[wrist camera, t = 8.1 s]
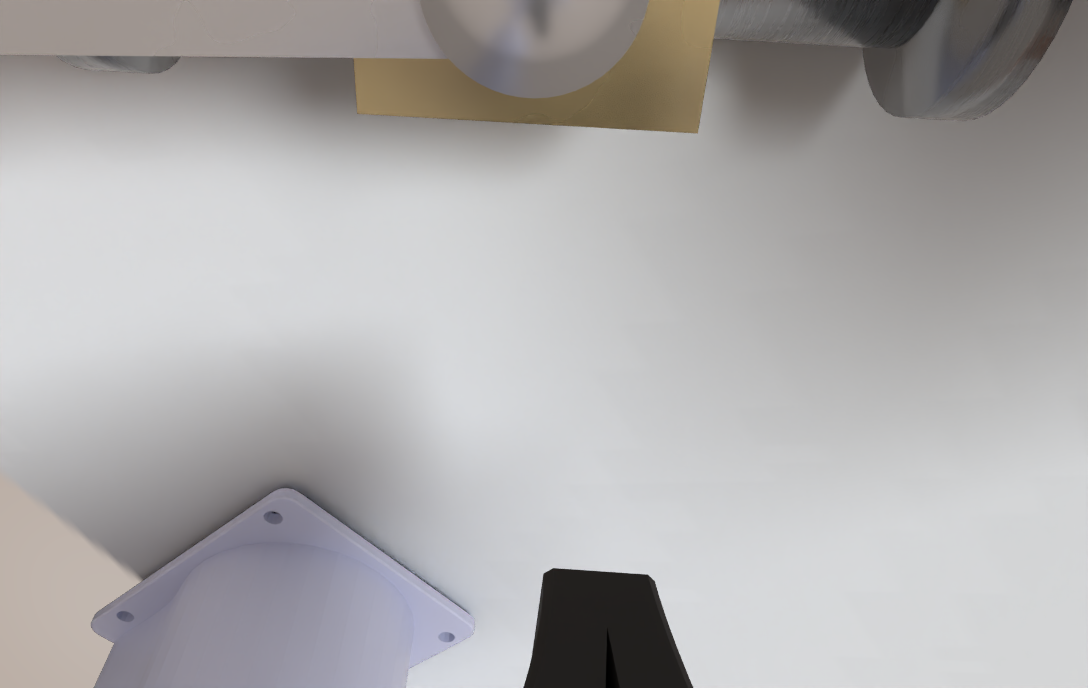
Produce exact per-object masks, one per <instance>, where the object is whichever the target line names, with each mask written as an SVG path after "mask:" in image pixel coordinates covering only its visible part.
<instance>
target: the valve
mask: <svg viewBox="0 0 1088 688" xmlns="http://www.w3.org/2000/svg"><path fill="white" fill-rule="evenodd" d="M1072 1H1073V0H649V2H648V6H647V10H646V13H645V17H644V20H643V22H642V25H641V27H640V30H639V32H638V34H637V36H636V37H635V39H634V41H633V43H632V45H631V46H630V47H629V49H628V50H627V51H626V53H625V54H624V56H623V57H622V58H621V59H620V60H619V61H618V62H617V63H616V64H615V65H614V66H613V67H612V68H611V69H610V70H609V71H608V72H606V73H605V74H604V75H603V76H602V77H600V78H599V79H597V80H595V81H594V82H592V83H591V84H589V85H587V86H585V87H583V88H581V89H578V90H576V91H573V92H570V93H567V94H564V95H560V96H554V97H549V98H522V97H516V96H511V95H506V94H503V93H500V92H497V91H494V90H491V89H489V88H487V87H485V86H483V85H481V84H479V83H477V82H476V81H474V80H473V79H471V78H470V77H468V76H467V75H465V74H464V73H463V72H462V71H461V70H460V69H458V68H457V67H456V66H455V65H454V64H453V63H452V62H451V61H450V60H449V59H407V58H353V59H354V73H355V87H356V101H357V114H371V115H389V116H406V117H423V118H441V119H458V120H475V121H493V122H510V123H528V124H545V125H562V126H580V127H597V128H614V129H632V130H649V131H666V132H684V133H698V128H699V122H700V116H701V110H702V104H703V98H704V92H705V86H706V80H707V74H708V68H709V62H710V56H711V50H712V44H713V38H716V39H732V40H749V41H766V42H782V43H799V44H815V45H832V46H849V47H862V51H863V59H864V65H865V70H866V74H867V78H868V82H869V85H870V87H871V90H872V92H873V95H874V97H875V98H876V100H877V101H878V103H879V105H880V106H881V107H882V108H883V109H884V110H885V111H886V112H888V113H890V114H891V115H893V116H898V117H905V118H923V119H940V120H957V121H967V120H974V119H977V118H980V117H982V116H985V115H987V114H989V113H990V112H992V111H993V110H995V109H996V108H998V107H999V106H1001V105H1002V104H1003V103H1004V102H1005V101H1006V100H1007V99H1008V98H1010V97H1011V96H1012V95H1013V94H1014V93H1015V92H1016V91H1017V89H1018V88H1019V87H1020V86H1021V85H1022V84H1023V83H1024V82H1025V80H1026V79H1027V78H1028V77H1029V75H1030V74H1031V73H1032V71H1033V70H1034V68H1035V67H1036V66H1037V64H1038V63H1039V62H1040V60H1041V59H1042V57H1043V55H1044V54H1045V52H1046V50H1047V49H1048V47H1049V46H1050V44H1051V42H1052V41H1053V39H1054V37H1055V35H1056V33H1057V32H1058V30H1059V28H1060V26H1061V24H1062V22H1063V20H1064V18H1065V16H1066V14H1067V12H1068V10H1069V8H1070V5H1071V3H1072ZM56 56H57V57H58V58H60V59H61V60H62V61H64V62H66V63H68V64H70V65H72V66H74V67H77V68H81V69H85V70H100V71H117V72H134V73H161V72H163V71H166V70H168V69H169V68H170V67H172V66H173V65H174V64H176V62H177V61H178V60H179V59H180V57H181V56H78V55H56Z"/></svg>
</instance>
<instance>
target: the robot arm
mask: <svg viewBox="0 0 1088 688" xmlns="http://www.w3.org/2000/svg"><path fill="white" fill-rule="evenodd" d="M271 511H273V512H277V513H279V514H275V513H273V512H271ZM91 628H92V629H93V630H94V632H96V633H97V634H98V635H100V636H102V637H104V638H105V639H107V640H109V641H111V642H113V643H114V645H113V647H112V649H111V651H110V654H109V656H108V658H107V660H106V662H105V665H104V667H103V669H102V671H101V673H100V675H99V678H98V680H97V682H96V684H95V686H94V688H406V682H407V676H408V669H409V668H411V667H413V666H415V665H417V664H419V663H421V662H423V661H425V660H427V659H429V658H430V657H432V656H434V655H436V654H438V653H440V652H442V651H444V650H446V649H448V648H450V647H452V646H454V645H455V644H457V643H459V642H461V641H463V640H465V639H467V638H469V637H470V636H472V635H473V633H474V629H475V621H474V618H473V617H472V616H471V615H470V614H468V613H467V612H465V611H464V610H463V609H461V608H460V607H458V606H457V605H456V604H454V603H453V602H451V601H450V600H449V599H447V598H446V597H445V596H443V595H442V594H440V593H439V592H438V591H436V590H435V589H433V588H432V587H431V586H429V585H428V584H426V583H425V582H424V581H422V580H421V579H419V578H418V577H417V576H415V575H414V574H412V573H411V572H410V571H408V570H407V569H405V568H404V567H403V566H401V565H400V564H398V563H397V562H396V561H394V560H393V559H392V558H390V557H389V556H387V555H386V554H385V553H383V552H382V551H380V550H379V549H378V548H376V547H375V546H373V545H372V544H371V543H369V542H368V541H366V540H365V539H364V538H362V537H361V536H359V535H358V534H357V533H355V532H354V531H352V530H351V529H350V528H348V527H347V526H346V525H344V524H343V523H341V522H340V521H339V520H337V519H336V518H334V517H333V516H332V515H330V514H329V513H327V512H326V511H325V510H323V509H322V508H320V507H319V506H318V505H316V504H315V503H313V502H312V501H311V500H309V499H308V498H306V497H305V496H304V495H302V494H301V493H299V492H298V491H296V490H294V489H289V488H281V489H278V490H275V491H273V492H272V493H270V494H269V495H267V496H266V497H265V498H263V499H262V500H260V501H259V502H257V503H256V504H254V505H253V506H251V507H250V508H248V509H247V510H246V511H244V512H243V513H241V514H240V515H238V516H237V517H235V518H234V519H232V520H231V521H229V522H228V523H227V524H225V525H224V526H222V527H221V528H219V529H218V530H216V531H215V532H213V533H212V534H210V535H209V536H208V537H206V538H205V539H203V540H202V541H200V542H199V543H197V544H196V545H194V546H193V547H191V548H190V549H189V550H187V551H186V552H184V553H183V554H181V555H180V556H178V557H177V558H175V559H174V560H172V561H171V562H170V563H168V564H167V565H165V566H164V567H162V568H161V569H159V570H158V571H156V572H155V573H153V574H152V575H151V576H149V577H148V578H146V579H145V580H143V581H142V582H140V583H139V584H137V585H136V586H134V587H133V588H132V589H130V590H129V591H127V592H126V593H125V594H123V595H122V596H120V597H118V598H117V599H116V600H114V601H113V602H111V603H110V604H108V605H107V606H105V607H104V608H102V609H101V610H100V611H98V612H97V613H96V614H95V616H94V618H93V620H92V622H91ZM524 688H693V686H692V684H691V681H690V679H689V677H688V674H687V672H686V669H685V667H684V664H683V662H682V659H681V657H680V654H679V652H678V649H677V646H676V644H675V641H674V638H673V636H672V633H671V630H670V628H669V625H668V622H667V619H666V616H665V613H664V610H663V607H662V604H661V601H660V598H659V595H658V591H657V588H656V584H655V581H654V580H653V579H652V578H651V577H650V576H649V575H644V574H629V573H615V572H600V571H585V570H571V569H556V568H553V569H551V570H549V571H547V572H546V573H544V574H543V582H542V589H541V596H540V603H539V610H538V617H537V625H536V632H535V639H534V646H533V653H532V659H531V663H530V667H529V671H528V674H527V678H526V681H525V685H524Z"/></svg>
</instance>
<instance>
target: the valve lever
mask: <svg viewBox="0 0 1088 688" xmlns="http://www.w3.org/2000/svg"><path fill="white" fill-rule="evenodd" d="M648 2H649V0H0V55H78V56H188V57H298V58H407V59H449V60H450V61H451V62H452V63H453V64H454V65H455V66H456V67H457V68H458V69H460V70H461V71H462V72H463V73H464V74H465V75H467V76H468V77H470V78H471V79H473V80H474V81H476V82H477V83H479V84H481V85H483V86H485V87H487V88H489V89H491V90H494V91H497V92H500V93H503V94H506V95H511V96H516V97H522V98H549V97H554V96H560V95H564V94H567V93H570V92H573V91H576V90H578V89H581V88H583V87H585V86H587V85H589V84H591V83H592V82H594V81H595V80H597V79H599V78H600V77H602V76H603V75H604V74H605V73H606V72H608V71H609V70H610V69H611V68H612V67H613V66H614V65H615V64H616V63H617V62H618V61H619V60H620V59H621V58H622V57H623V56H624V54H625V53H626V51H627V50H628V49H629V47H630V46H631V45H632V43H633V41H634V39H635V37H636V36H637V34H638V32H639V30H640V27H641V25H642V22H643V20H644V17H645V13H646V10H647V6H648Z"/></svg>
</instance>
